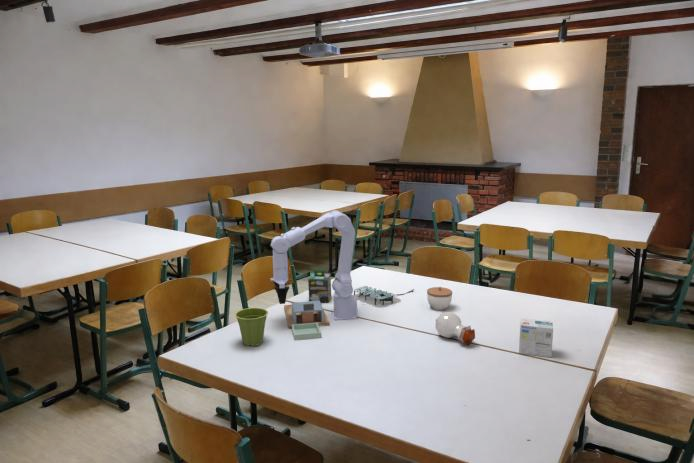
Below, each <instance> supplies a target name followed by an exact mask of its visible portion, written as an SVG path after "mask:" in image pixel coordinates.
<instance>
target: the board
mask: <svg viewBox="0 0 694 463" xmlns="http://www.w3.org/2000/svg"><path fill="white" fill-rule="evenodd" d="M283 310H284V315H285V319H286V322H287V327H288V330H292V325H295V324H294V321H293V317H292V304H283ZM313 323H318V326H319V327H327V326H328V327H329V326H330V320H329V318H328V316H327V314H326V311H325V310H324V322H321V319H320V317H319V314H318V311H315V312H314V322H313ZM296 324H308V323H302V321H301V313H296Z"/></svg>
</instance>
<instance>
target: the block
mask: <svg viewBox="0 0 694 463" xmlns="http://www.w3.org/2000/svg"><path fill="white" fill-rule="evenodd" d="M301 321H302V323H313V322H314V312H302V313H301Z"/></svg>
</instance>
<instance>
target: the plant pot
mask: <svg viewBox="0 0 694 463" xmlns="http://www.w3.org/2000/svg"><path fill="white" fill-rule="evenodd" d="M268 314H269V311H268V310H267V309H265V308H261V307H248V308H243V309H242V308H241V309H240V310H238V311H236V312H235V313H234V316H235V318H236V319H237V323H238V325H239V330H240V334H241V340H242V344H243V345H245V346H252V347H254V346H258V345H260V344H262V343H263V342H264V336H265V335H264V334H265V326H266V321H267V316H268Z"/></svg>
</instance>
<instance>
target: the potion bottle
mask: <svg viewBox="0 0 694 463" xmlns="http://www.w3.org/2000/svg"><path fill="white" fill-rule="evenodd" d="M434 326H435V329H436V332H437V333H438V334H439V335H440V336H442V337H443V338H446V339H447V338H449V339H452V338H454V337H457V340H458V341H459V342H461V343H462V344H465V345H466V346H470V345H471V343H472V342H473V341H474V340H475V339H476V331H475V329H474V328H473V329H472V327H471V325H467V326H465V325H462V321H461V318H460V316H458V315H457V314H456V313H454V312H453V311H452V312H451V311H450V312H449V311H444V312H442V313H440V315H439V316H437V318H436V319H435V325H434Z"/></svg>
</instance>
